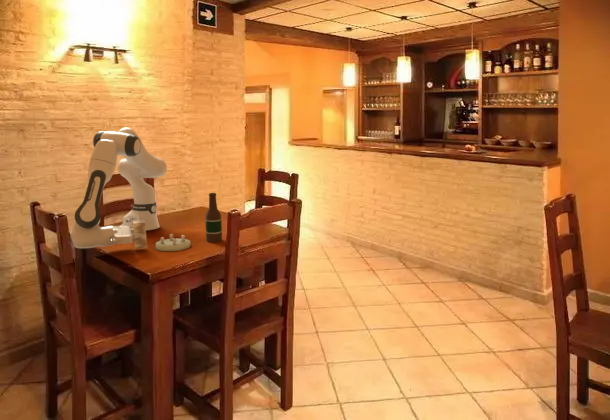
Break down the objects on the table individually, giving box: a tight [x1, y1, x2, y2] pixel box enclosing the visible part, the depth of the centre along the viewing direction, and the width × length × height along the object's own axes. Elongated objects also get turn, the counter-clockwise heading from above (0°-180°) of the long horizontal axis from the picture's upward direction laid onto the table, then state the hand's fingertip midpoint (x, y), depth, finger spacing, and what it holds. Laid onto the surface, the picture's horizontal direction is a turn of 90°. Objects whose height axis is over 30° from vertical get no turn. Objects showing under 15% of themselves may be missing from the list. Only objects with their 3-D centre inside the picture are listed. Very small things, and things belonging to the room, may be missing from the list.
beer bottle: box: [204, 192, 223, 243], centre depth 243 cm, size 8×8×24 cm
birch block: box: [133, 221, 148, 250], centre depth 226 cm, size 5×5×12 cm
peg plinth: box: [155, 233, 191, 252], centre depth 233 cm, size 16×16×5 cm
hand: (141, 233), depth 226 cm, fingers closed on birch block, 5 cm apart
